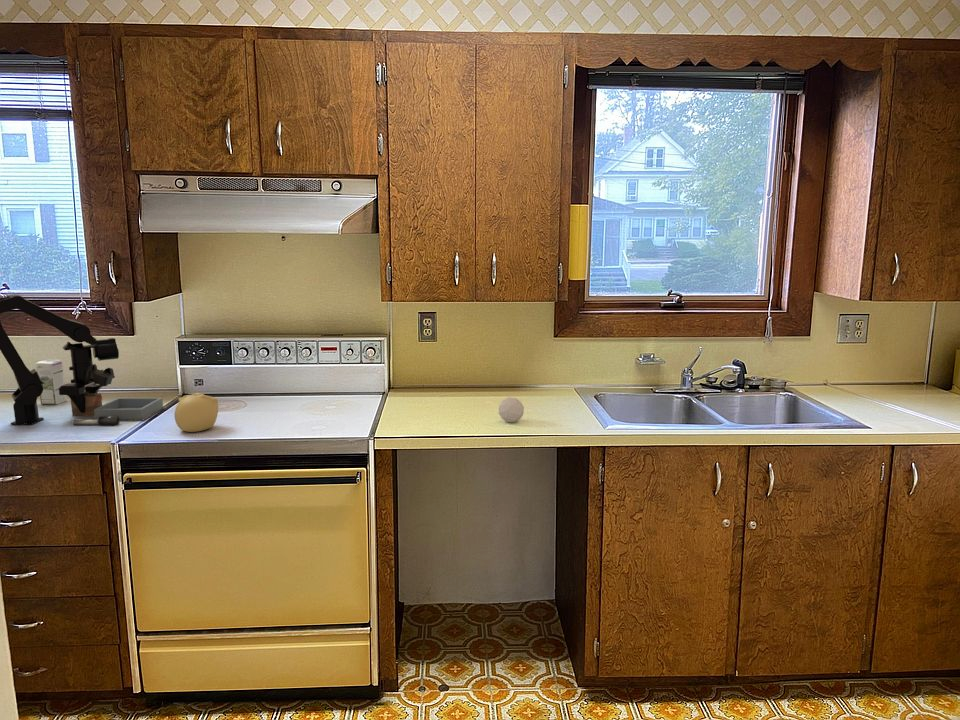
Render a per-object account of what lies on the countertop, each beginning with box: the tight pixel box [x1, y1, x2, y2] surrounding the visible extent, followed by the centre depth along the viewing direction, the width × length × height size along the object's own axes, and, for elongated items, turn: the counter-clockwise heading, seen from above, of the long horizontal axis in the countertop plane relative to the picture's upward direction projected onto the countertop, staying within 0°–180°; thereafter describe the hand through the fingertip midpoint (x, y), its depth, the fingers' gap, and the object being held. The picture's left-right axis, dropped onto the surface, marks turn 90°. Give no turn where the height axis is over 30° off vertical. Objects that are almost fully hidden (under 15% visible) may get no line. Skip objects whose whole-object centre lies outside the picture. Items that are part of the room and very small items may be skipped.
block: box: [70, 392, 103, 417], centre depth 224 cm, size 5×7×6 cm
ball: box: [498, 396, 525, 424], centre depth 214 cm, size 8×8×8 cm
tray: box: [94, 397, 164, 421], centre depth 223 cm, size 15×15×4 cm
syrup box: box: [35, 359, 68, 405], centre depth 237 cm, size 6×6×14 cm
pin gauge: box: [72, 416, 120, 426], centre depth 212 cm, size 13×3×3 cm, turn 90°
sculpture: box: [174, 392, 219, 433], centre depth 206 cm, size 12×12×11 cm
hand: (87, 410), depth 224 cm, fingers closed on block, 5 cm apart
